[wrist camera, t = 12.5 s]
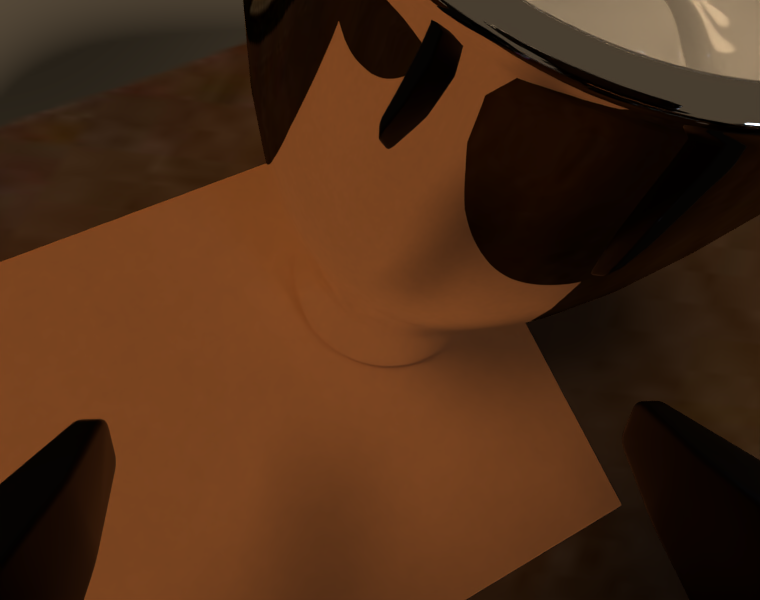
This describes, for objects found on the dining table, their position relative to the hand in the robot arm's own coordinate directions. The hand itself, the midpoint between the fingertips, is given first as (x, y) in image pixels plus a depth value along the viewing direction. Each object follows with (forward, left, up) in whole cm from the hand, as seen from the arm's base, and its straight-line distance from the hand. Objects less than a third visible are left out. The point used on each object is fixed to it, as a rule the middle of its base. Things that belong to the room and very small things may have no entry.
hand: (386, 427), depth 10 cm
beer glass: (+3, +4, -8) cm, 10 cm away
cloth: (-3, +2, -8) cm, 9 cm away
